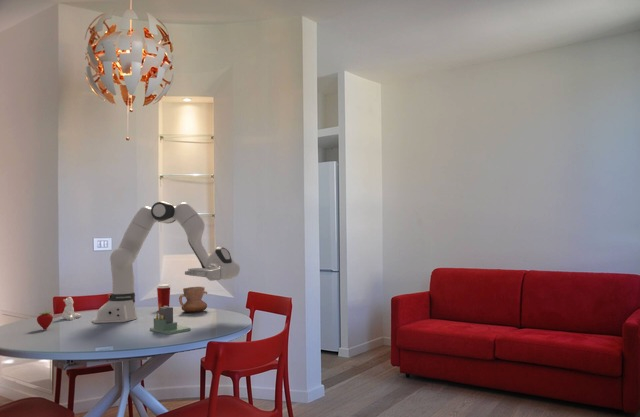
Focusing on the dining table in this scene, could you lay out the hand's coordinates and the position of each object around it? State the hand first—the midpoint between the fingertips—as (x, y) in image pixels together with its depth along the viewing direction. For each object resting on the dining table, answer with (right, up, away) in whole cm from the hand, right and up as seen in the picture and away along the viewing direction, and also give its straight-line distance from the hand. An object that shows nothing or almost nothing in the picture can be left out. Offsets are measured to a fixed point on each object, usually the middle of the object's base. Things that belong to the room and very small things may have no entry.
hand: (190, 273), depth 268 cm
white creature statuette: (-72, -28, +24) cm, 81 cm away
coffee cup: (-28, -28, +49) cm, 64 cm away
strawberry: (-71, -27, -6) cm, 76 cm away
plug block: (-8, -24, -14) cm, 30 cm away
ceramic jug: (-9, -28, +41) cm, 51 cm away
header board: (-7, -26, -13) cm, 30 cm away
